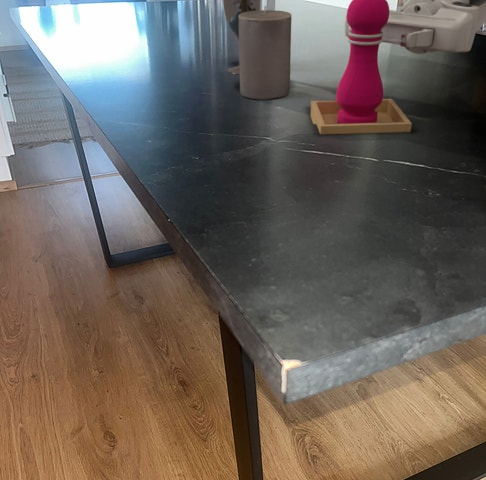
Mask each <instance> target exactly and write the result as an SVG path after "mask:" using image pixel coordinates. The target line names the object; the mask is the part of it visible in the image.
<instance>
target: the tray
mask: <svg viewBox="0 0 486 480" xmlns="http://www.w3.org/2000/svg"><path fill="white" fill-rule="evenodd" d="M341 109H342V108H341V107H340V106H339V104H338V103H337V100H336V99H334V100H332V99H331V100H311V102H310V119H311V122H312V124H313V125H316V127H317V130H318V132H319V134H320V135H346V134H347V135H348V134H377V133H378V134H379V133H380V134H381V133H384V134H385V133H411V131H412V125H413V124H412V122H411V121H410V119H409V118H408V117H407V116H406V114H405V113H404V112H403V110H402V109H401V108H400V107H399V106H398V105H397V102H395V101H394V100H393V98H383V100H382V102H381V104H380V105H379V106H378V107H377V108H376V109H375V111H376V112H377V113H378V116H377V122H375V123H357V124H344V123H337V117H338V112H339V110H341Z"/></svg>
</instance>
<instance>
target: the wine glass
mask: <svg viewBox="0 0 486 480" xmlns="http://www.w3.org/2000/svg"><path fill="white" fill-rule="evenodd" d="M222 9H223V15H224V18H225V19H224V20H225V22H226V25H227V26H228V27H229V29H230V30H231V32H233V34H234V36H235V37H236V38H237V40H238V41H239V20H238V16H239V14H241V13H244V12H250V11H261V10H262V0H222ZM227 72H228V73H230V74H233V75H240V67H239V65H237V66H236V65H235V66H232V67H229V68H228V69H227Z"/></svg>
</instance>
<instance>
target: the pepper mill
mask: <svg viewBox="0 0 486 480" xmlns="http://www.w3.org/2000/svg"><path fill="white" fill-rule="evenodd" d="M389 10H390V4H389V2H388V0H351V2H350V3H349V4H348V7H347V10H346V15H347V22H348V24H349V26H350V27H351V30H352V31H350V32H349V33H348V34H349V38H348V39H347V42H348V43H349V44H350V47H349V57H348V62H347V64H346V68H345V70H344V72H343V74H342V77H340V80H339V83H338V85H337V89H336V93H335V100H337V103H338V104H339V106H340V107H341V108H342V109H341V110H339V112H338V117H337V123H338V124H357V123H378V122H377V116H378V113H377V112H376V111H375V109H376V108H377V107H378V106H379V105H380V104H381V102H382V100H383V99H384V85H383V81H382V77H381V73H380V69H379V59H378V56H379V48H380V44H382V43H383V42H382V41H383V40H382V36H383V32H382V31H381V30H382V28H383V27H384V26H385V24H386V23H387V21H388V19H389Z"/></svg>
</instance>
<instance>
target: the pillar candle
mask: <svg viewBox="0 0 486 480" xmlns="http://www.w3.org/2000/svg"><path fill="white" fill-rule="evenodd" d="M238 20H239V40H238V59H239V61H238V62H239V64H238V66H239V67H240V74H239V94H240V95H241V96H242V97H245V98H248V99H253V100H271V99H272V100H273V99H277V98H284V97H286V96H288V95H289V93H290V86H291V55H292V51H291V47H292V13H291V12H289V11H283V10H274V9H273V10H272V9H271V10H270V9H267V6H266V5H265V6H264V9H263V10H262V9H261V10H260V11H250V12H244V13H241V14H239V16H238Z"/></svg>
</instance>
